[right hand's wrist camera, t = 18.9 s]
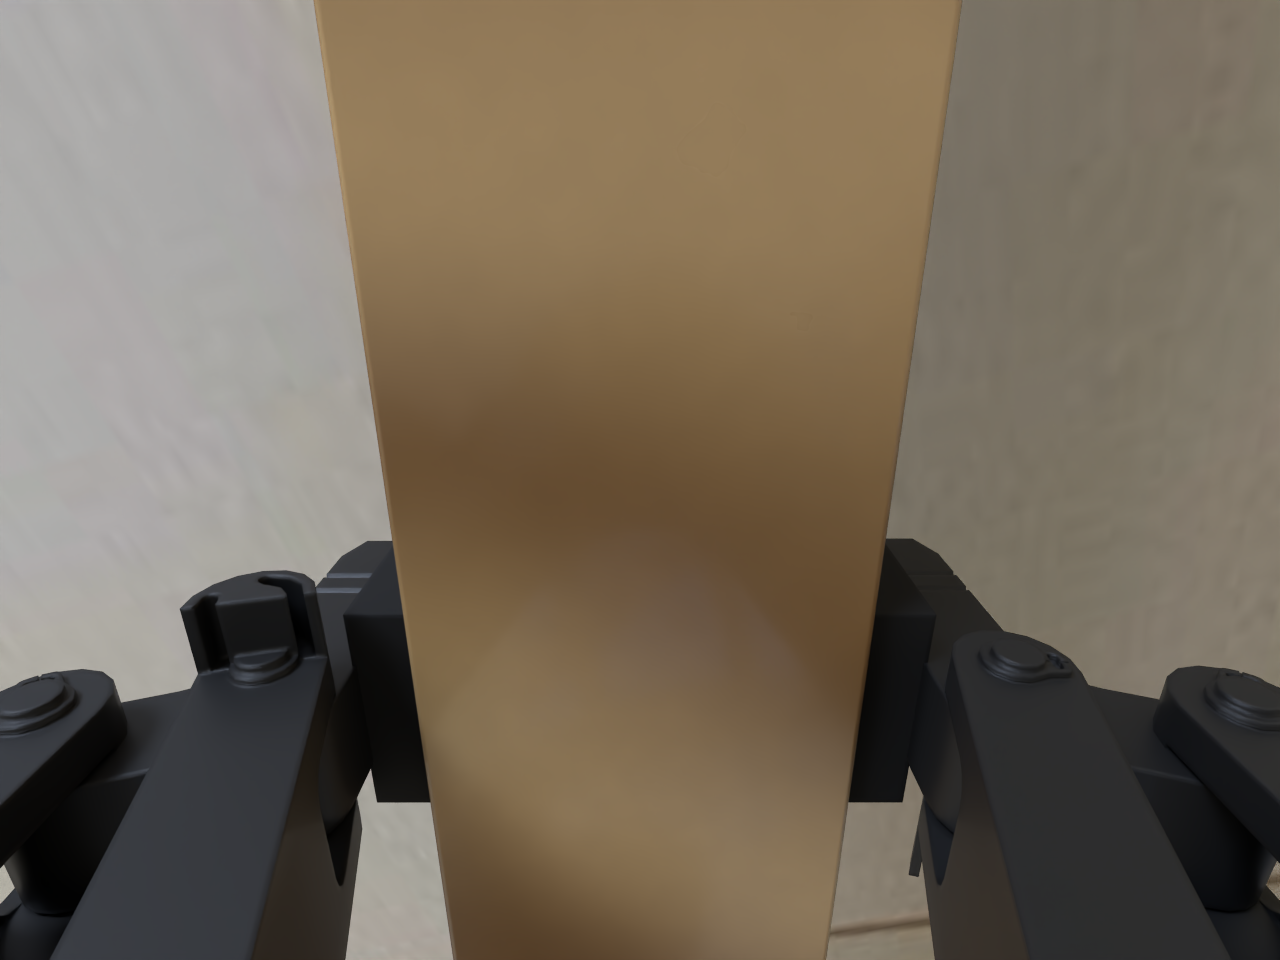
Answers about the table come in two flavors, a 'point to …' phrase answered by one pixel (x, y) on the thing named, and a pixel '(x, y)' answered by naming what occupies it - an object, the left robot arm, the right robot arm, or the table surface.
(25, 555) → the table surface
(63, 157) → the table surface
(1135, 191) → the table surface
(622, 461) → the post
